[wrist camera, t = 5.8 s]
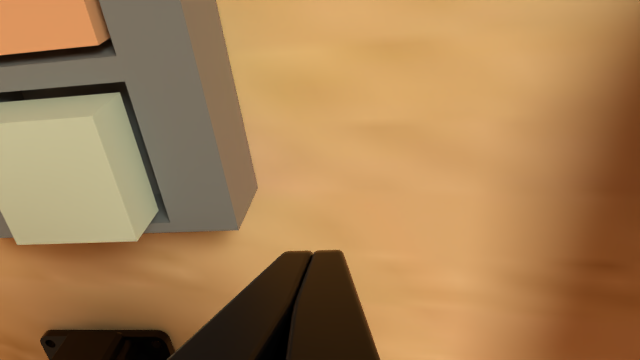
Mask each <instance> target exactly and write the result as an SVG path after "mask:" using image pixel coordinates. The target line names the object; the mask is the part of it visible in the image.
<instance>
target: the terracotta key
mask: <svg viewBox="0 0 640 360" xmlns="http://www.w3.org/2000/svg"><path fill="white" fill-rule="evenodd" d="M109 38H110V34H109V30H108V27H107V24H106V21H105V18H104V15H103V12H102V9H101V6H100V2H99V0H0V55H7V54H17V53H27V52H37V51H46V50H56V49H66V48H76V47H85V46H95V45H100V44H101V43H103V42H104V41H106V40H107V39H109Z"/></svg>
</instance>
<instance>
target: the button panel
mask: <svg viewBox="0 0 640 360" xmlns="http://www.w3.org/2000/svg"><path fill="white" fill-rule="evenodd" d="M99 2H100V6H101V9H102V12H103V15H104V18H105V21H106V24H107V27H108V30H109V34H110V38H109V39H107V40H106V41H104V42H103V43H101V44H100V45H95V46H85V47H76V48H66V49H56V50H46V51H37V52H27V53H17V54H7V55H0V102H11V101H23V100H35V99H47V98H59V97H70V96H82V95H94V94H106V93H118V92H120V95H121V98H122V101H123V104H124V107H125V110H126V113H127V116H128V119H129V122H130V125H131V128H132V131H133V134H134V137H135V140H136V143H137V146H138V149H139V152H140V155H141V158H142V161H143V164H144V168H145V171H146V174H147V177H148V180H149V183H150V186H151V189H152V192H153V195H154V198H155V201H156V204H157V207H158V210H159V211H158V212H157V214H156V215H155V217H154V218H153V219H152V221H151V222H150V224H149V225H148V227H147V228H146V230H145V231H144V232H143V233H167V232H197V231H228V230H239V228H240V226H241V224H242V221H243V219H244V217H245V215H246V213H247V210H248V208H249V206H250V204H251V202H252V199H253V197H254V195H255V193H256V191H257V188H258V187H257V182H256V178H255V173H254V169H253V164H252V160H251V155H250V151H249V146H248V142H247V138H246V133H245V129H244V124H243V120H242V115H241V111H240V106H239V102H238V97H237V93H236V89H235V84H234V80H233V75H232V71H231V66H230V62H229V57H228V53H227V48H226V44H225V39H224V35H223V31H222V26H221V22H220V17H219V13H218V8H217V4H216V0H99ZM0 238H14V237H13V235H12V233H11V231H10V229H9V227H8V225H7V223H6V221H5V219H4V217H3V215H2V213H1V211H0Z"/></svg>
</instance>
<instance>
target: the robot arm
mask: <svg viewBox="0 0 640 360" xmlns="http://www.w3.org/2000/svg"><path fill="white" fill-rule="evenodd" d="M158 341H159V342H158ZM40 342H41V345H42V346H43V348H44V350H45V352H46V354H47V356H48V358H49V360H380V358H379V355H378V352H377V349H376V346H375V343H374V340H373V337H372V335H371V332H370V329H369V326H368V323H367V320H366V317H365V314H364V312H363V309H362V306H361V303H360V300H359V297H358V294H357V291H356V288H355V286H354V283H353V280H352V277H351V274H350V271H349V268H348V265H347V263H346V260H345V257H344V254H343V252H342V251H340V250H319V251H316V252H314V254H313V253H312V252H311V251H287V252H285V253H283V254H282V255H281V256H280V257H278V258H277V259H276V260H275V261H274V262H273V263H272V264H271V265H270V266H269V267H268V268H266V269H265V270H264V271H263V272H262V273H261V274H260V275H259V276H258V277H257V278H255V279H254V280H253V281H252V282H251V283H250V284H249V285H248V286H247V287H246V288H245V289H243V290H242V291H241V292H240V293H239V294H238V295H237V296H236V297H235V298H234V299H233V300H231V301H230V302H229V303H228V304H227V305H226V306H225V307H224V308H223V309H222V310H221V311H219V312H218V313H217V314H216V315H215V316H214V317H213V318H212V319H211V320H210V321H209V322H207V323H206V324H205V325H204V326H203V327H202V328H201V329H200V330H199V331H198V332H197V333H195V334H194V335H193V336H192V337H191V338H190V339H189V340H188V341H187V342H186V343H185V344H183V345H182V346H181V347H180V348H179V349H178V350H177V351H176V352H175V351H174V348H173V345H172V342H171V340H170V337H169V336H168V335H167V334H166V333H165V332H162V331H158V330H48V331H47V332H45V334H44V335H43V336H42V338H41V340H40Z"/></svg>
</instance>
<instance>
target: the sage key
mask: <svg viewBox="0 0 640 360" xmlns="http://www.w3.org/2000/svg"><path fill="white" fill-rule="evenodd" d="M0 211H1V213H2V215H3V217H4V219H5V221H6V223H7V225H8V227H9V229H10V231H11V233H12V235H13V237H14V239H15V241H16V243H17V245H32V244H65V243H99V242H132V241H138V240H139V238H140V237H141V235H142V234H143V232H144V231H145V230H146V228H147V227H148V225H149V224H150V222H151V221H152V219H153V218H154V217H155V215H156V214H157V212H158V211H159V210H158V207H157V204H156V201H155V198H154V195H153V192H152V189H151V186H150V183H149V180H148V177H147V174H146V171H145V168H144V164H143V161H142V158H141V155H140V152H139V149H138V146H137V143H136V140H135V137H134V134H133V131H132V128H131V125H130V122H129V119H128V116H127V113H126V110H125V107H124V104H123V101H122V98H121V95H120V92H118V93H106V94H94V95H82V96H70V97H59V98H47V99H35V100H23V101H11V102H0Z"/></svg>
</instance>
